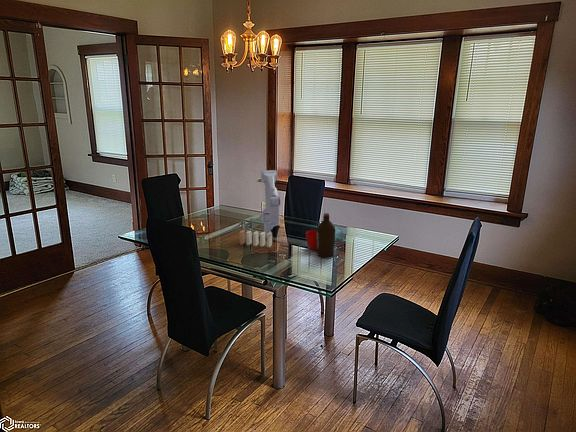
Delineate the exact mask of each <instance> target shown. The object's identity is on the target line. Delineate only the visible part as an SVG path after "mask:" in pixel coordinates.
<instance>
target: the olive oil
mask: <svg viewBox="0 0 576 432" xmlns="http://www.w3.org/2000/svg"><path fill="white" fill-rule="evenodd" d="M322 217H323V218H322V221H321V222H320V223H318V225H317V227H316V230H317V251H316V252H317V253H316V254H317V257H318V258H321V259H330V258H333V257H334V254H335V241H336V240H335V238H336V227H335V225H334V224H333V223H332V222H331V220H330V213H328V212H327V213H326V212H324V213H323V216H322Z"/></svg>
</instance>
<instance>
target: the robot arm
mask: <svg viewBox="0 0 576 432" xmlns="http://www.w3.org/2000/svg"><path fill="white" fill-rule="evenodd" d="M260 179H261V180H260V182H261V183H262V184H263V185H264V196H265V199H264V200H265V208H264V209H263V210H261V222H262V223H263V232H265V239H267V234H268V233H269V232H270V233H272V239H273V238H275V239H276V238H277V237H279V236H280V234H279V230H280V228H281V220H280V206H281V197H280V195H279V193H278V192H279V191H278V189H277V188H276V186H275V184H276V181H277V179H278V171H277V170H275V169H271V170H261V171H260Z"/></svg>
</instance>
